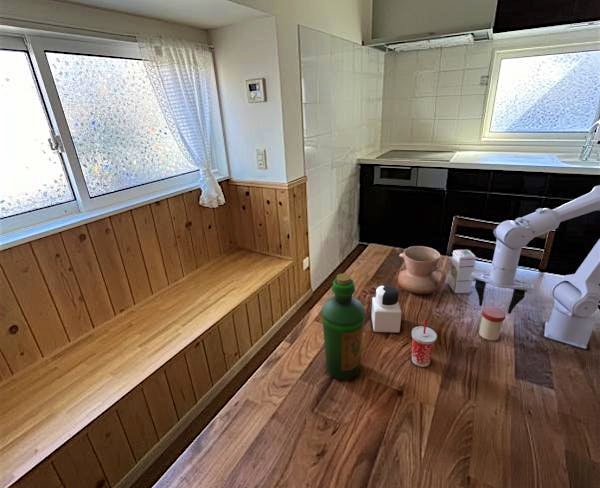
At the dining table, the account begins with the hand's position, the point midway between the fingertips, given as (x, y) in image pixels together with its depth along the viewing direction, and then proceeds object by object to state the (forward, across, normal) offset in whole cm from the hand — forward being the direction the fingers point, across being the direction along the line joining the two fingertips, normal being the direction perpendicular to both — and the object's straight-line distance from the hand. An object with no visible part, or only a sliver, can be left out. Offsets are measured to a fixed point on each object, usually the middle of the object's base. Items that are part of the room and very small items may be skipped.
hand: (494, 307), depth 94 cm
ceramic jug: (+10, +24, -15) cm, 30 cm away
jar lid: (+2, 0, 0) cm, 2 cm away
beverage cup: (+10, +14, +20) cm, 26 cm away
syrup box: (+10, +12, -22) cm, 26 cm away
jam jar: (+9, 0, 0) cm, 9 cm away
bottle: (+10, +31, +34) cm, 46 cm away
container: (+10, +28, +11) cm, 31 cm away
